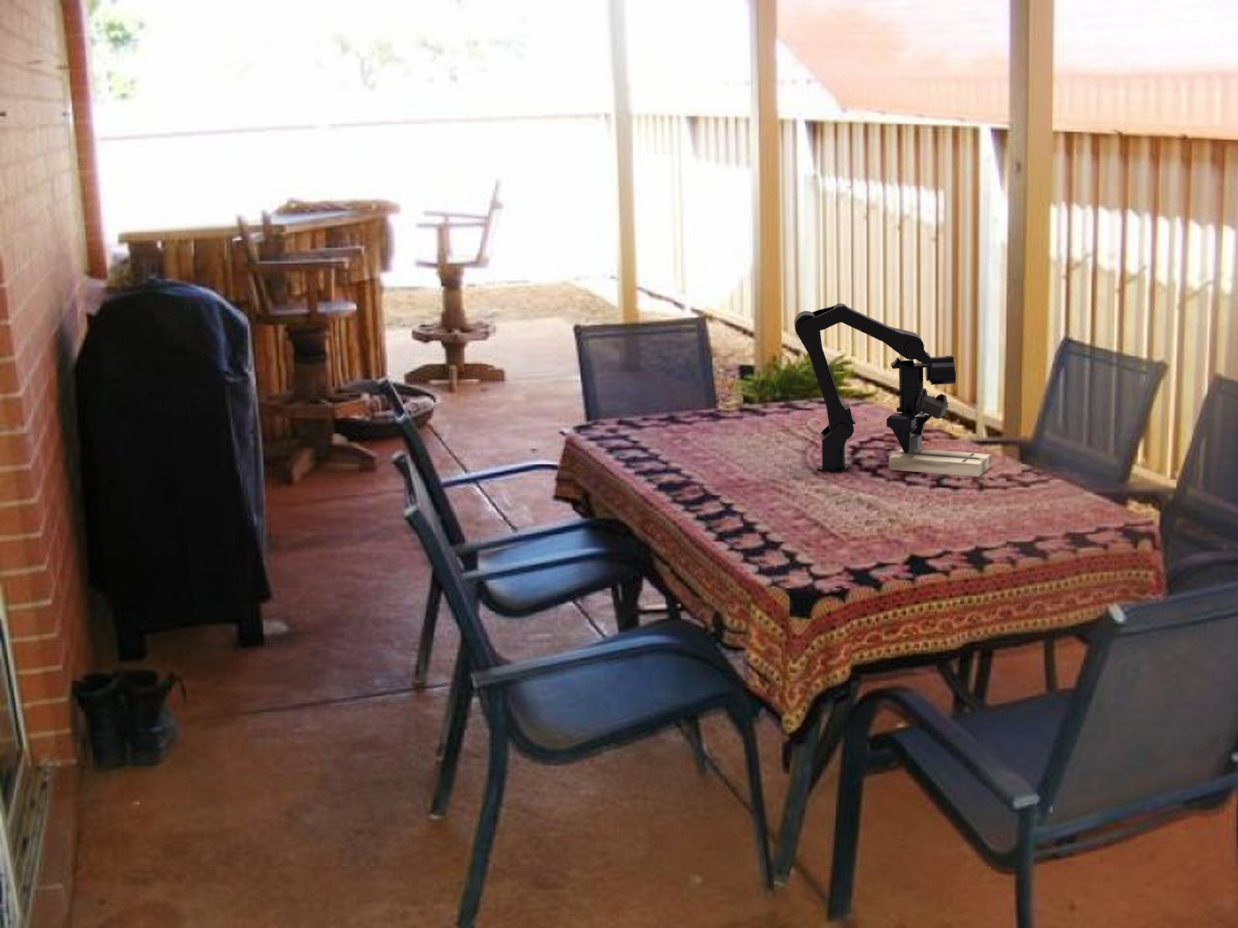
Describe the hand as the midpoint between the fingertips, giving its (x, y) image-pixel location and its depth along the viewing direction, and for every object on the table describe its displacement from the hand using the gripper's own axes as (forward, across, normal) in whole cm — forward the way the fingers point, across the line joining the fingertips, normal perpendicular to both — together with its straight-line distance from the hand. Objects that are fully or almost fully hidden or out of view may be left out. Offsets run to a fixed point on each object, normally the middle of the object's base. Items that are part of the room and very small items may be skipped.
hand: (911, 448), depth 365 cm
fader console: (+4, 0, -7) cm, 8 cm away
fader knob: (+1, 0, 0) cm, 1 cm away
